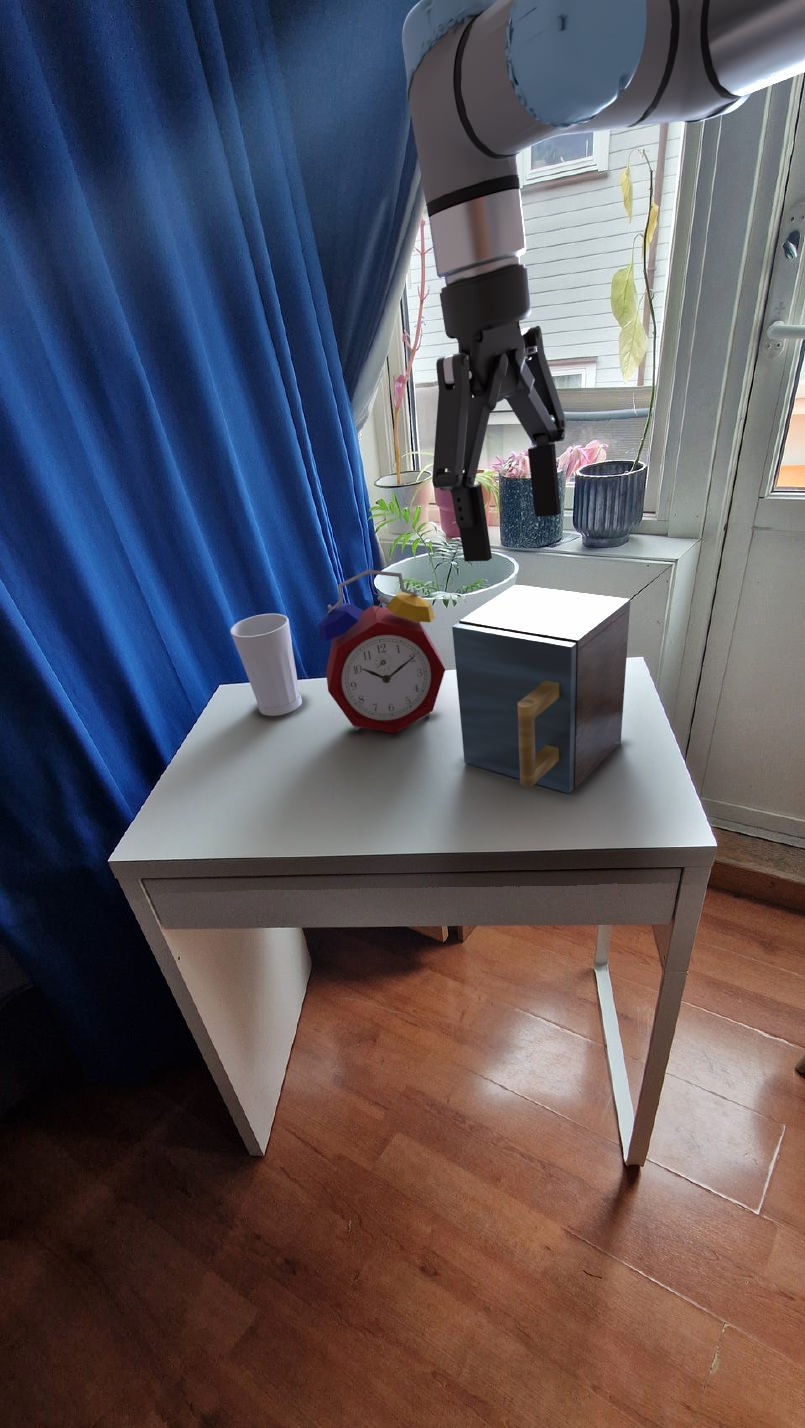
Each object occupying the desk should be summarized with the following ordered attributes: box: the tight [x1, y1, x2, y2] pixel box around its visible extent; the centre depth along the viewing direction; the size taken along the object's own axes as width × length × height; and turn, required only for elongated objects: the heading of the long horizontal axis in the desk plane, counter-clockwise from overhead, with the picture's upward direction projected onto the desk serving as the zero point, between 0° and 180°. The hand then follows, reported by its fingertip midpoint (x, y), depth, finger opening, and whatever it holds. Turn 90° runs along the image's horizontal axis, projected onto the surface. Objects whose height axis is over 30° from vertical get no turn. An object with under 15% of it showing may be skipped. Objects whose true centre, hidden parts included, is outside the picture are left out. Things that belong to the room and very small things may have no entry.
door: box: [451, 622, 576, 794], centre depth 76 cm, size 7×14×17 cm, turn 50°
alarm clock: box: [318, 569, 446, 734], centre depth 91 cm, size 15×9×20 cm, turn 97°
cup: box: [230, 613, 303, 717], centre depth 101 cm, size 8×8×12 cm
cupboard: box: [458, 584, 631, 790], centre depth 81 cm, size 11×14×17 cm
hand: (514, 537), depth 73 cm, fingers open, 13 cm apart
